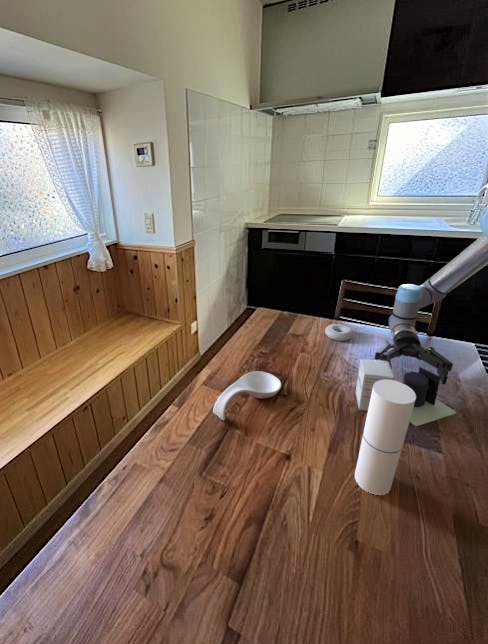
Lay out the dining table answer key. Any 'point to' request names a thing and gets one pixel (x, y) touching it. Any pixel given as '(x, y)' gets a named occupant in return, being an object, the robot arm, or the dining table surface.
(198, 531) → the dining table surface
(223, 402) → the spoon rest
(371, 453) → the cylindrical container
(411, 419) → the felt mat
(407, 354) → the robot arm
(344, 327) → the donut
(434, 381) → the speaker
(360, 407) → the white packaging box
